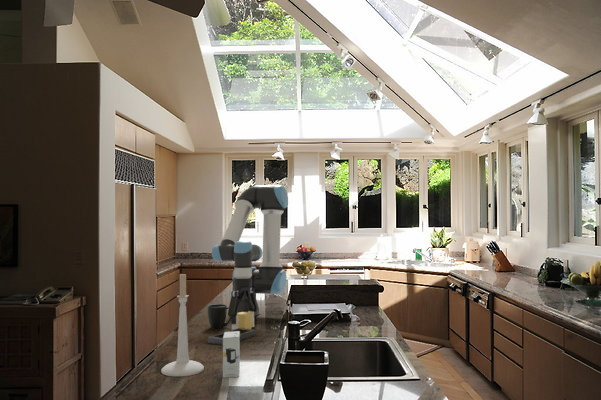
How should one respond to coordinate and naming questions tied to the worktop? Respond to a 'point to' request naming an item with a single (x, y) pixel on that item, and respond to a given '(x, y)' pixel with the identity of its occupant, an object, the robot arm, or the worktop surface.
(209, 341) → the frame with square openings
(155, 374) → the worktop surface
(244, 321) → the yellow block
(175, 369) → the candlestick
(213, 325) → the mug
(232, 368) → the ink box
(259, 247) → the robot arm
